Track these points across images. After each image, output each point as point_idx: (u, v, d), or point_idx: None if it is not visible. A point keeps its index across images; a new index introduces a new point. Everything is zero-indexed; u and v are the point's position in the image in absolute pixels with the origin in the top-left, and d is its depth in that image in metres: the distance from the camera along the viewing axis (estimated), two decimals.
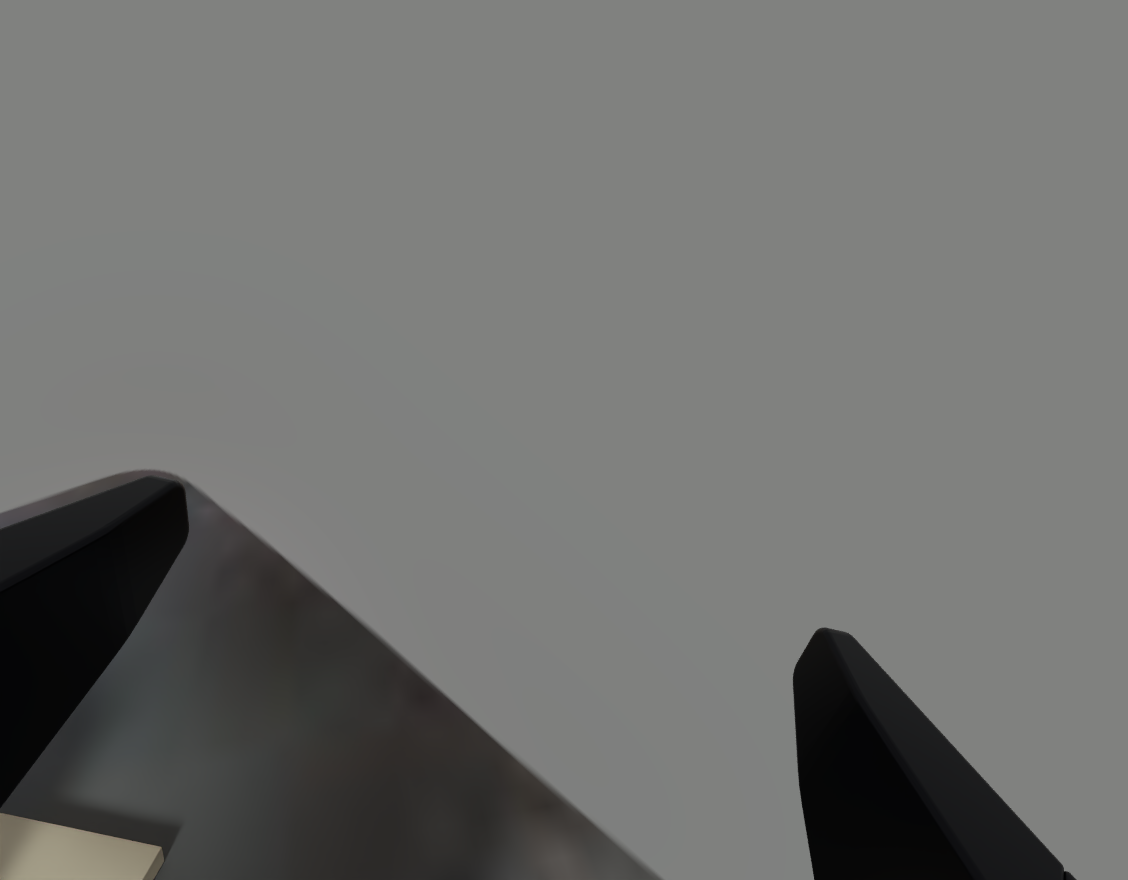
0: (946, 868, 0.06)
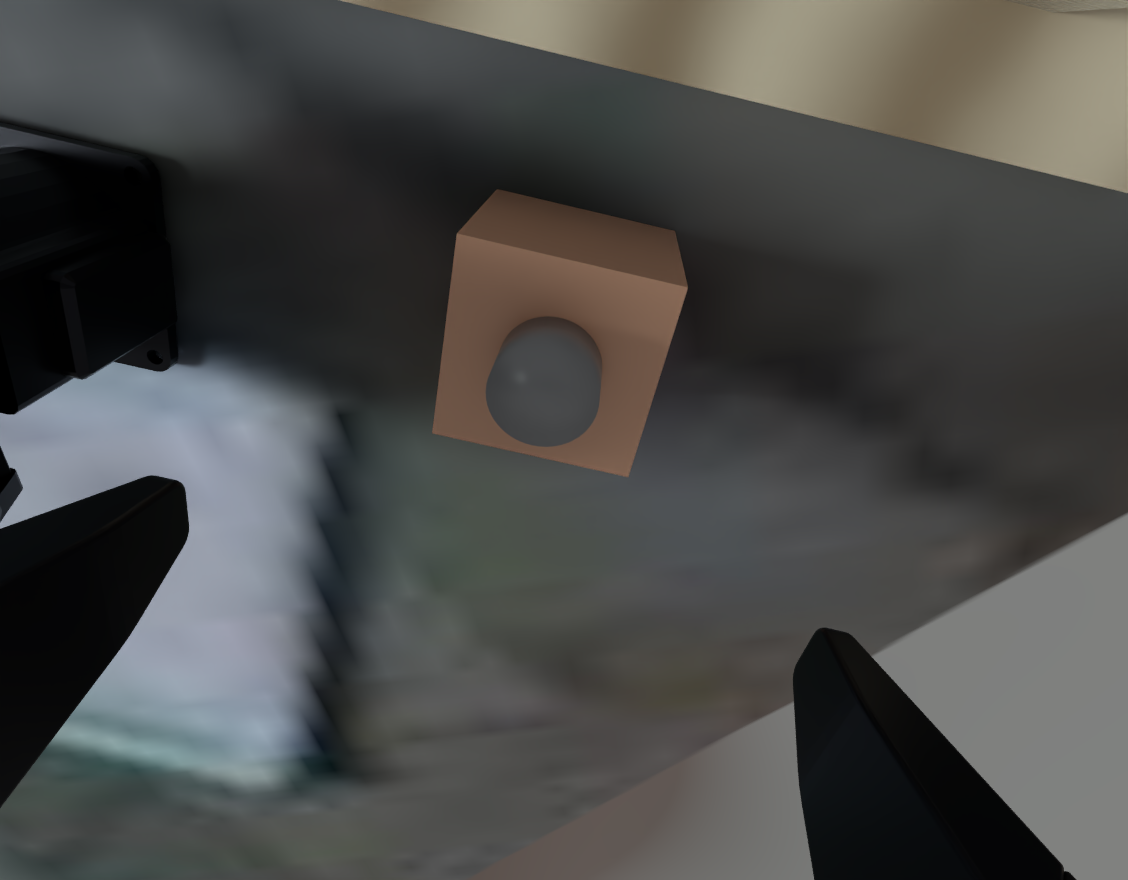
0: (946, 868, 0.06)
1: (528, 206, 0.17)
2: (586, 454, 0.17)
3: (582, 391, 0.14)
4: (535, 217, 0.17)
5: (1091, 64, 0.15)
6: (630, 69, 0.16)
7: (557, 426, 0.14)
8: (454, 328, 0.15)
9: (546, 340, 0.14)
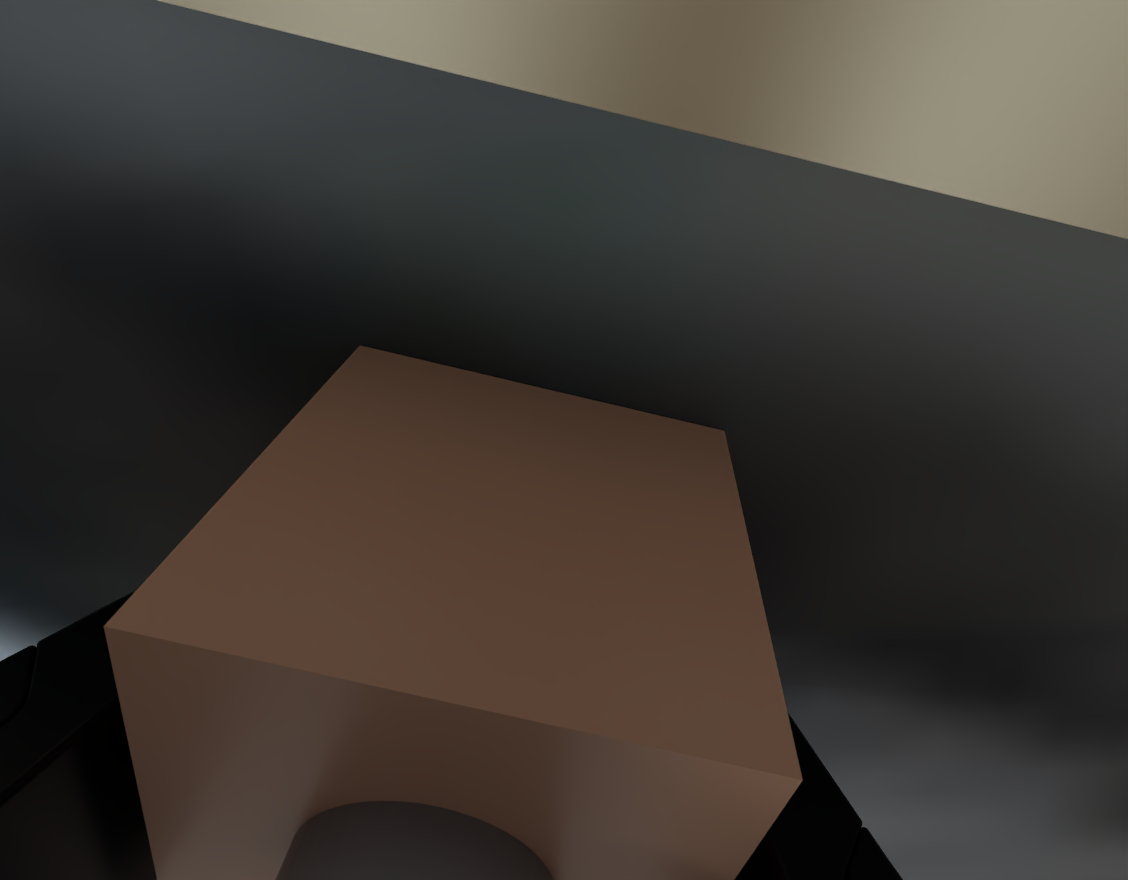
0: None
1: (410, 403, 0.08)
2: None
3: None
4: (413, 452, 0.07)
5: None
6: (636, 113, 0.06)
7: None
8: (165, 800, 0.06)
9: None
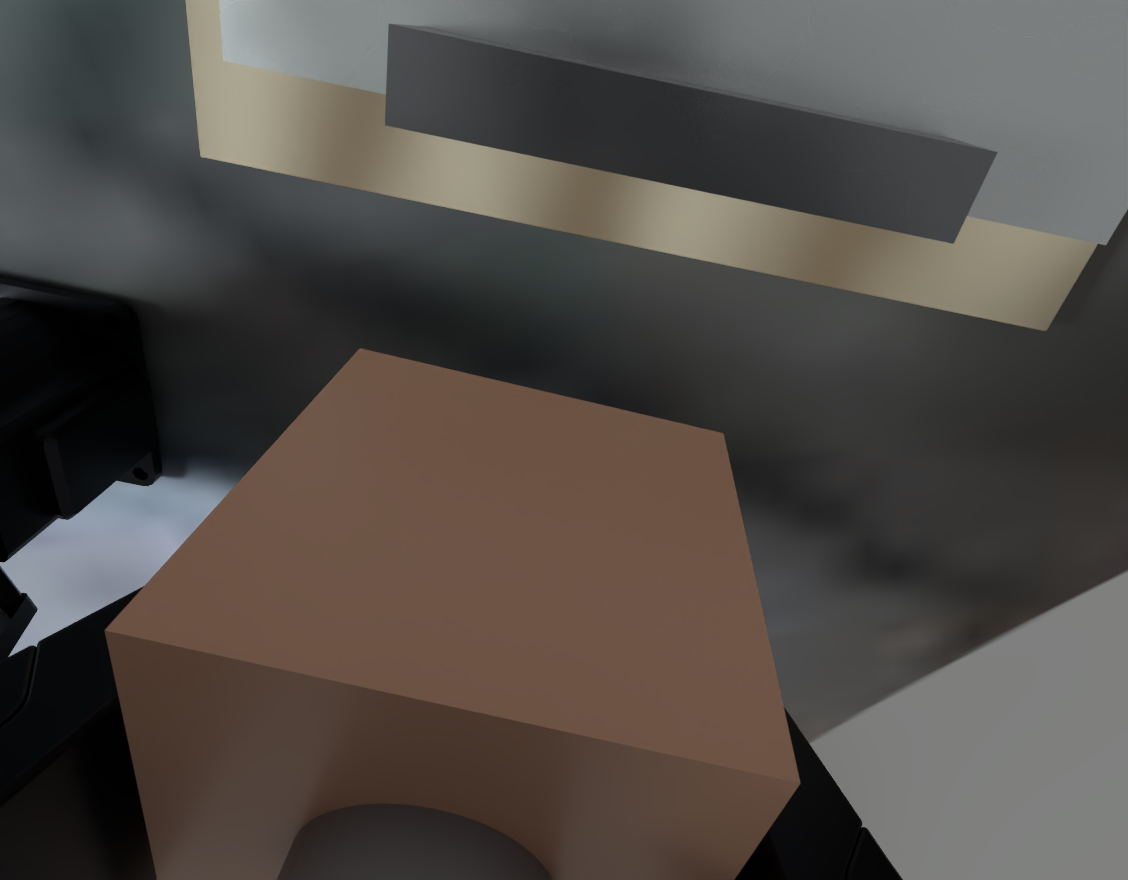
0: None
1: (410, 407, 0.08)
2: None
3: None
4: (412, 455, 0.07)
5: (990, 221, 0.16)
6: (563, 230, 0.17)
7: None
8: (165, 803, 0.06)
9: None
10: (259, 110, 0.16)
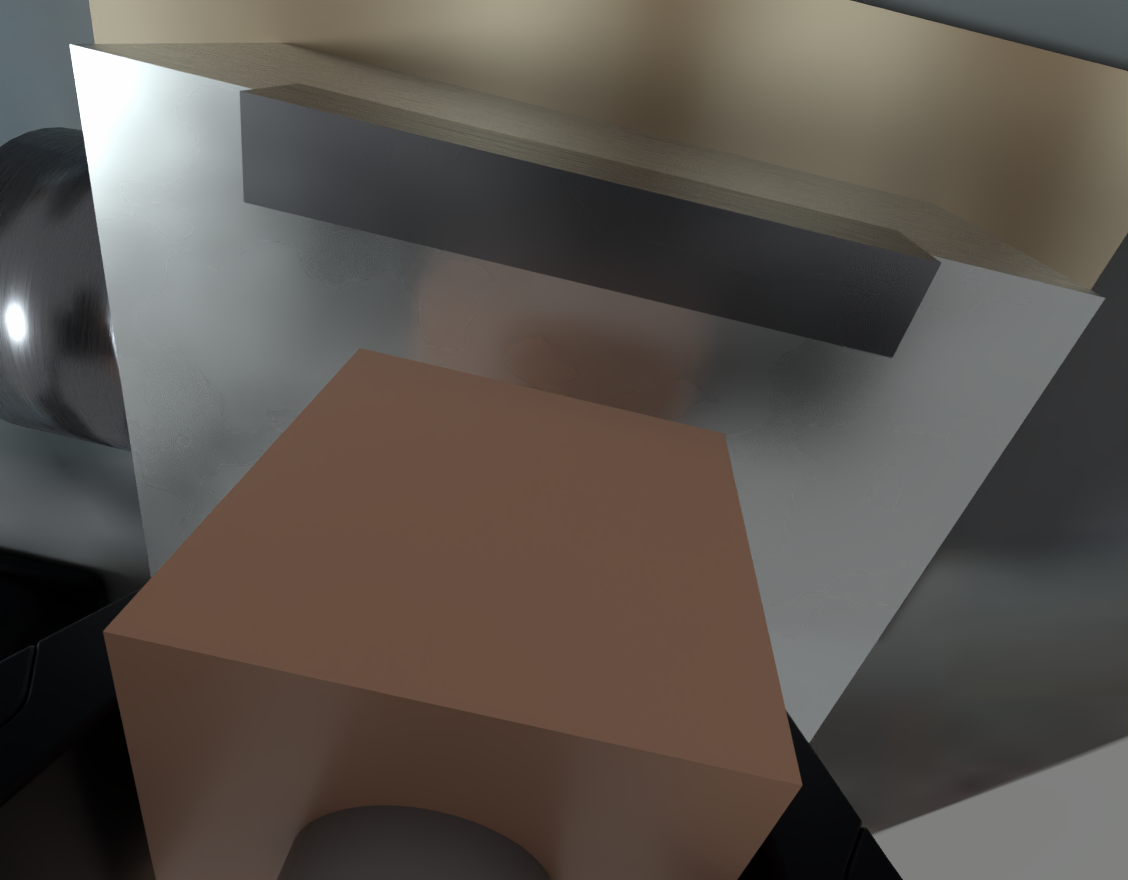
0: None
1: (410, 406, 0.08)
2: None
3: None
4: (412, 455, 0.07)
5: None
6: None
7: None
8: (164, 805, 0.06)
9: None
10: None
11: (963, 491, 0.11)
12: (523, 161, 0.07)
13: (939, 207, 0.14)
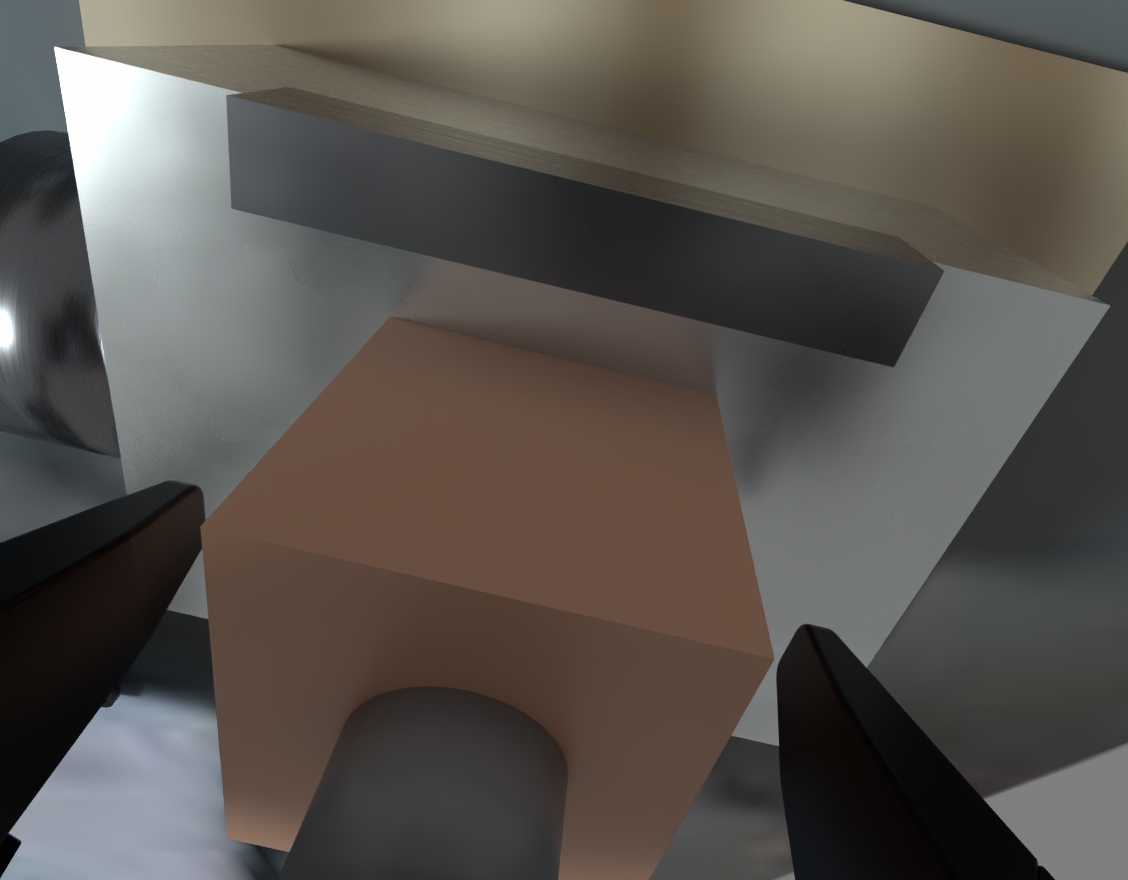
0: (920, 862, 0.06)
1: (437, 366, 0.09)
2: None
3: None
4: (441, 404, 0.08)
5: None
6: None
7: None
8: (235, 691, 0.07)
9: (410, 835, 0.05)
10: None
11: (965, 500, 0.11)
12: (516, 167, 0.07)
13: (940, 211, 0.14)
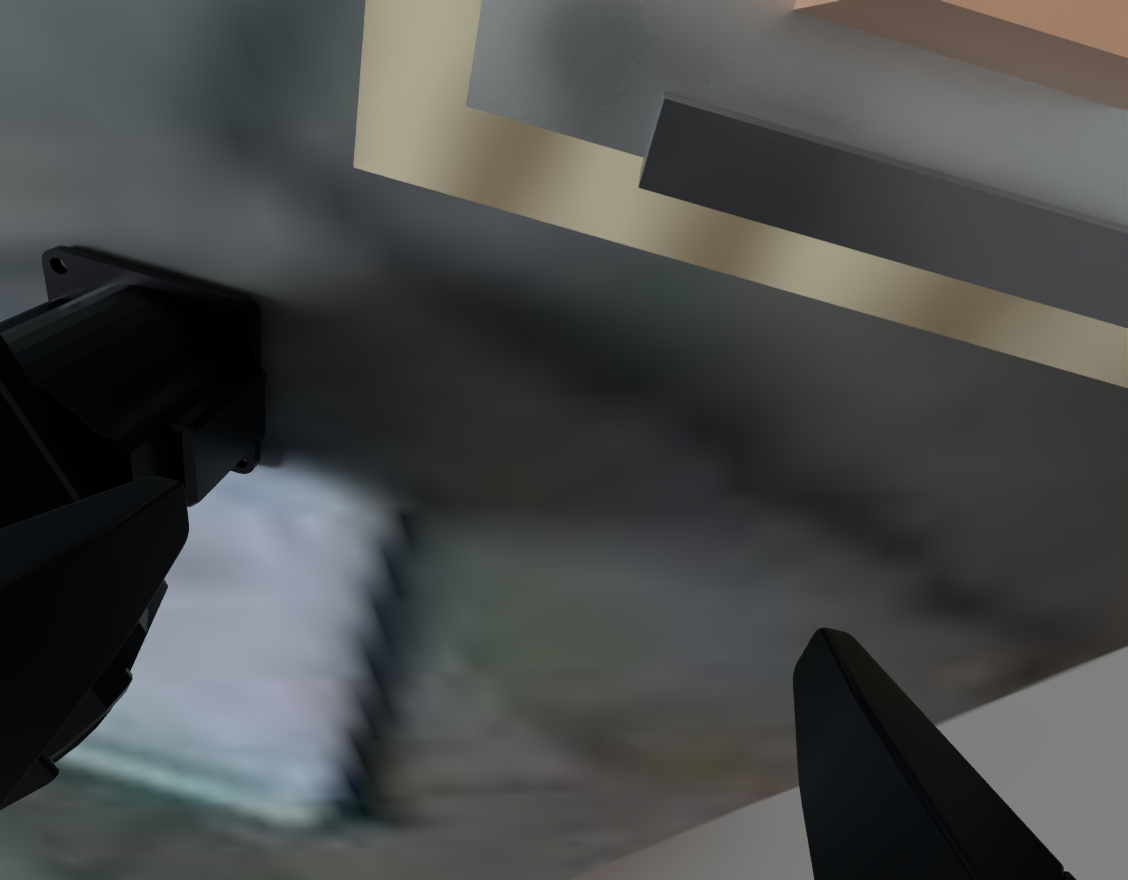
0: (946, 868, 0.06)
1: None
2: None
3: None
4: None
5: None
6: (697, 264, 0.18)
7: None
8: None
9: None
10: (419, 128, 0.17)
11: None
12: None
13: None
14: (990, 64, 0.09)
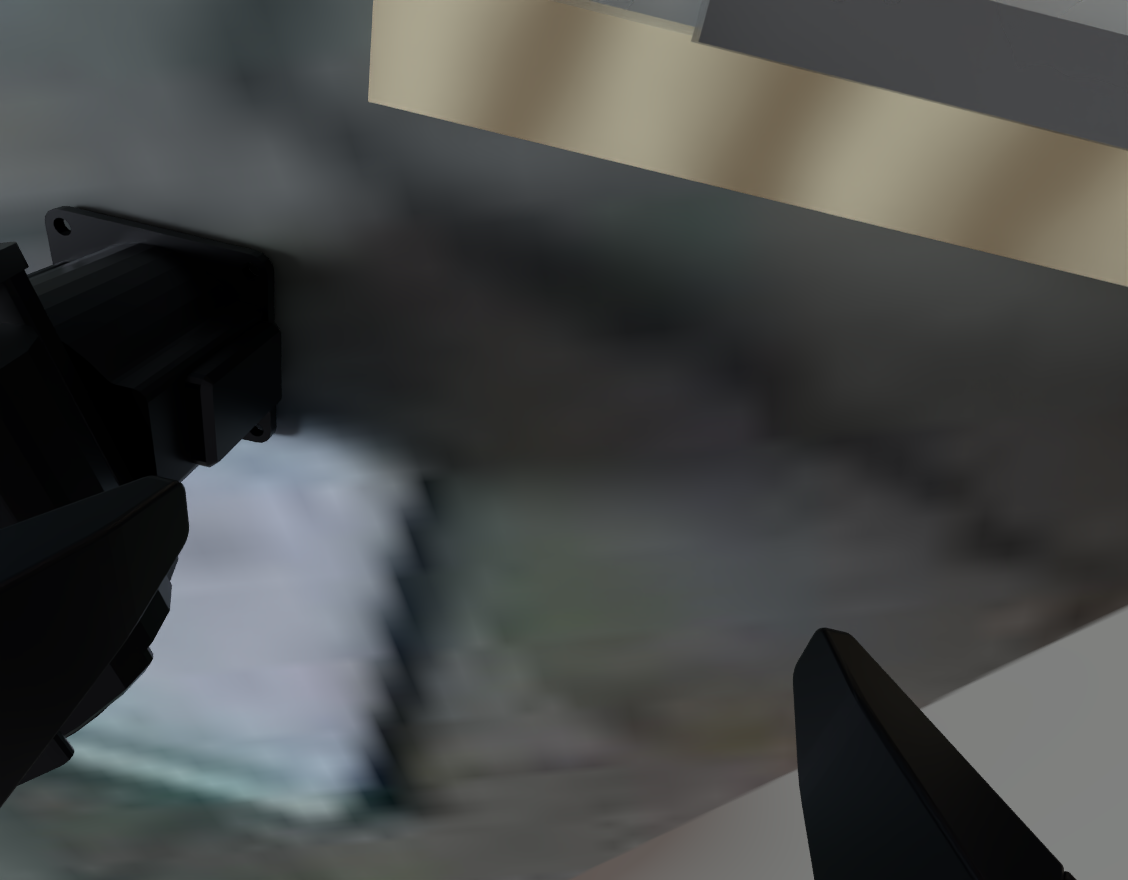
0: (946, 868, 0.06)
1: None
2: None
3: None
4: None
5: None
6: (729, 187, 0.17)
7: None
8: None
9: None
10: (436, 55, 0.16)
11: None
12: None
13: None
14: None
